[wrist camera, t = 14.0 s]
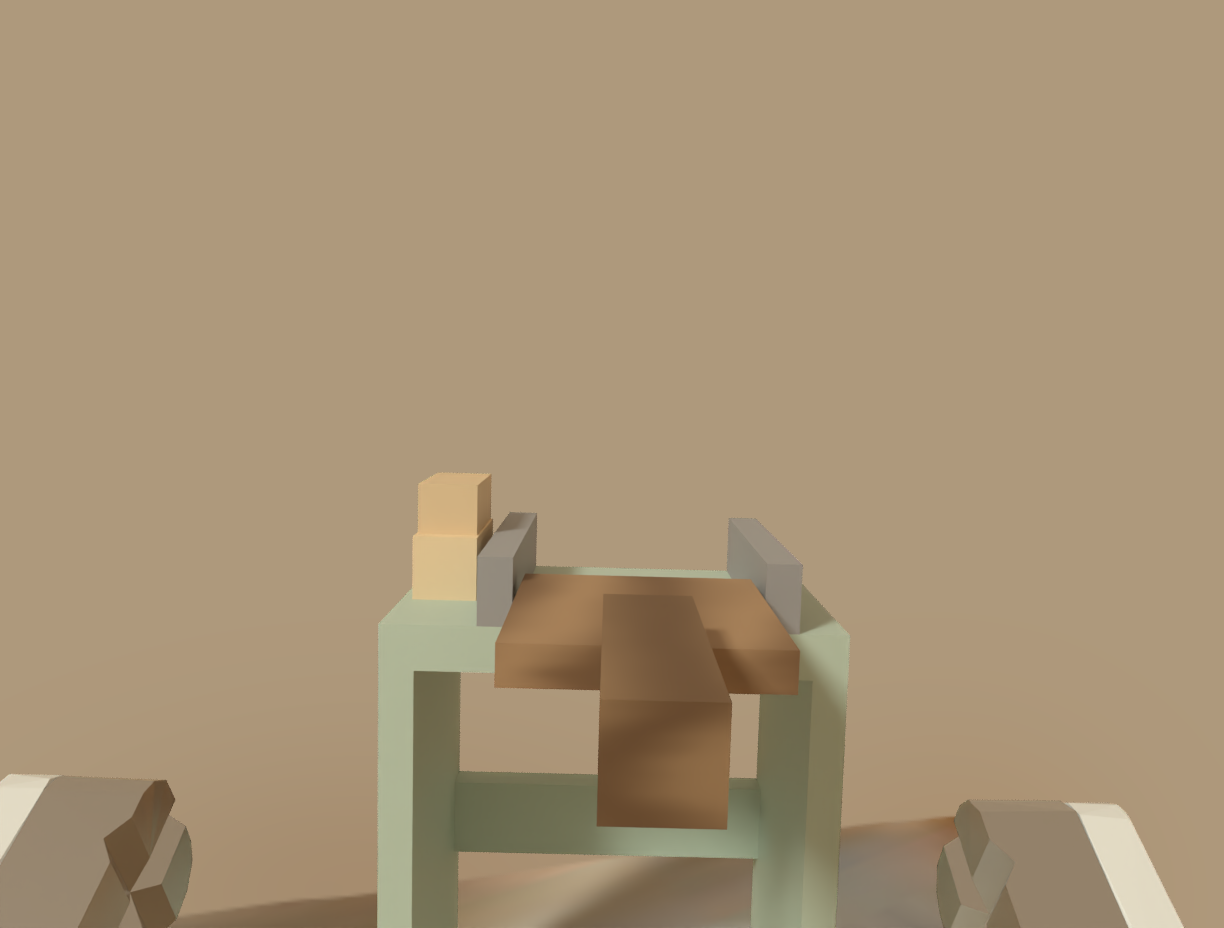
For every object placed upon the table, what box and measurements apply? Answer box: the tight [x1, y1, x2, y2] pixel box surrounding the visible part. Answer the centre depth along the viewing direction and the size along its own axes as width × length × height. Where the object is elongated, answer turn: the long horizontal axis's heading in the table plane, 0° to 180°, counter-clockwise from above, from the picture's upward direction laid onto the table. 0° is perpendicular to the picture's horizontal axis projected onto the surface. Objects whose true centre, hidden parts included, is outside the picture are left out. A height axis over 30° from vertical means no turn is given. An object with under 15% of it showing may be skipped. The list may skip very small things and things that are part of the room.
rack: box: [377, 473, 850, 928], centre depth 48 cm, size 20×13×31 cm, turn 90°
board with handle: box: [494, 573, 800, 830], centre depth 32 cm, size 10×20×3 cm, turn 0°
